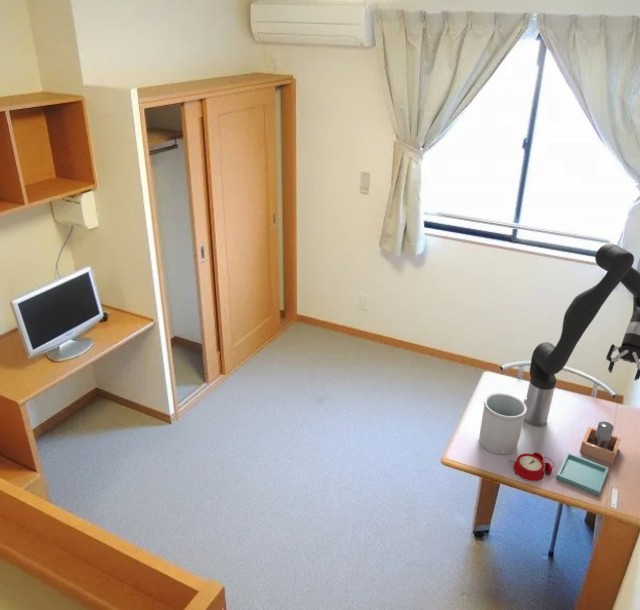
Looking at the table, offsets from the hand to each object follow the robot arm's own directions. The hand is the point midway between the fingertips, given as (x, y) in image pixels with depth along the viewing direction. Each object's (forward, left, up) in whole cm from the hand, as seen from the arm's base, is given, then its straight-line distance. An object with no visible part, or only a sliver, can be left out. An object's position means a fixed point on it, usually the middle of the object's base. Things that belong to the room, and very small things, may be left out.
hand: (622, 376), depth 217 cm
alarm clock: (-17, -39, -25) cm, 50 cm away
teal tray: (-2, -32, -25) cm, 41 cm away
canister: (0, -14, -25) cm, 28 cm away
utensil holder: (-32, -32, -25) cm, 52 cm away
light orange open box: (0, -14, -25) cm, 28 cm away
